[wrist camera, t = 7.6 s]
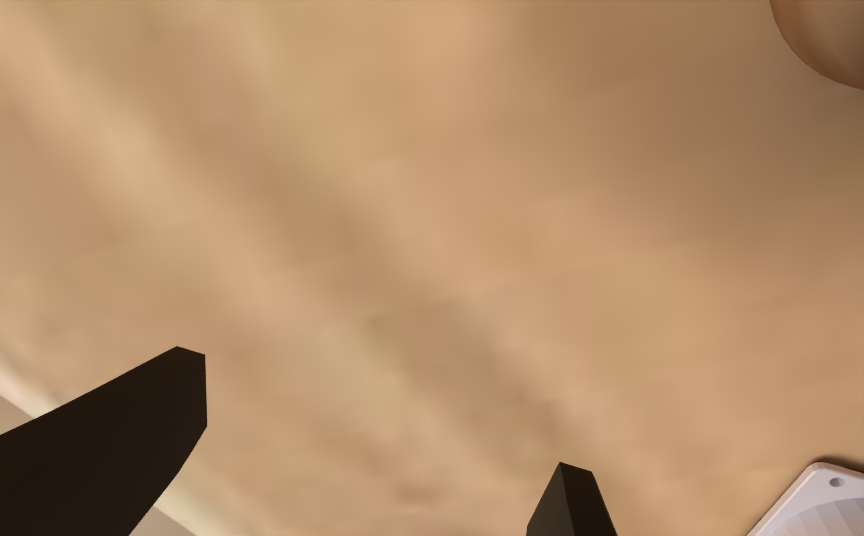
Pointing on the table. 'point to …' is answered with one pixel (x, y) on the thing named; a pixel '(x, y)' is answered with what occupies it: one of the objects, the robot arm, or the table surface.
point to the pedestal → (825, 36)
